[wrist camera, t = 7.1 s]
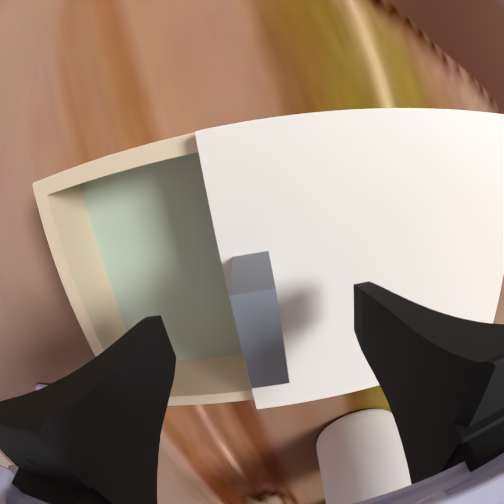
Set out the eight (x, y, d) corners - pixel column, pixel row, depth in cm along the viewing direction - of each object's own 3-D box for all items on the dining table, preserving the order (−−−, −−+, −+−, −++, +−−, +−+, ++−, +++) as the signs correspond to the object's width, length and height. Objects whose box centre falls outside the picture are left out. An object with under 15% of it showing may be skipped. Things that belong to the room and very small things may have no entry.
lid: (256, 402, 16) (258, 455, 12) (196, 131, 11) (174, 127, 7) (481, 342, 15) (511, 376, 12) (502, 114, 10) (552, 118, 7)
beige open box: (138, 366, 20) (123, 405, 16) (71, 172, 15) (32, 183, 12) (350, 338, 20) (368, 377, 16) (333, 116, 15) (360, 110, 11)
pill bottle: (317, 414, 22) (351, 580, 8) (404, 397, 22) (467, 536, 8) (310, 459, 25) (331, 588, 11) (385, 445, 25) (424, 560, 11)
